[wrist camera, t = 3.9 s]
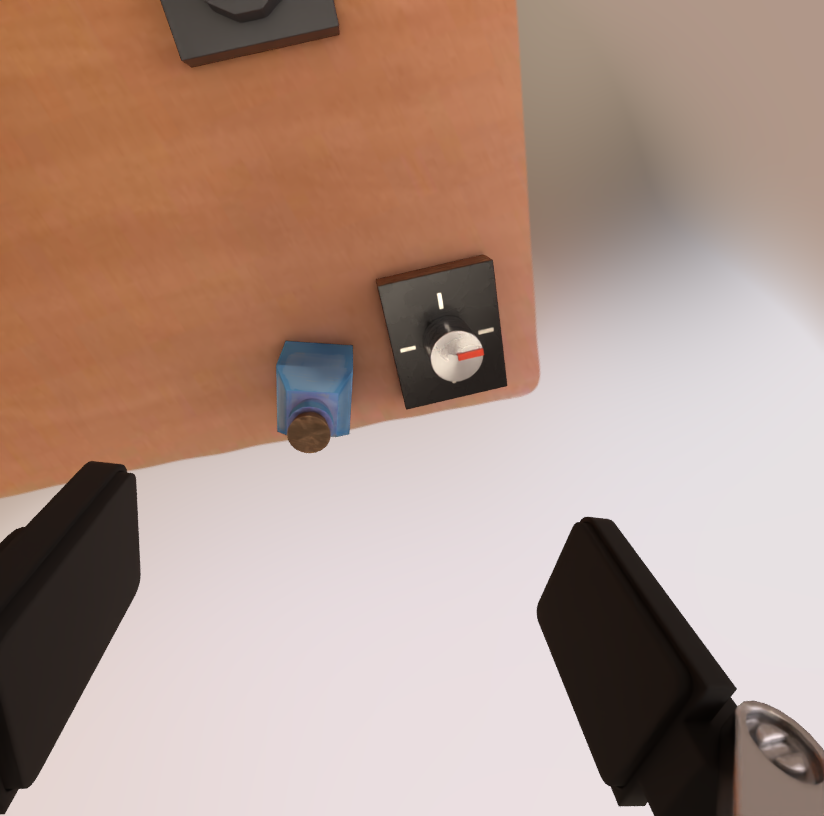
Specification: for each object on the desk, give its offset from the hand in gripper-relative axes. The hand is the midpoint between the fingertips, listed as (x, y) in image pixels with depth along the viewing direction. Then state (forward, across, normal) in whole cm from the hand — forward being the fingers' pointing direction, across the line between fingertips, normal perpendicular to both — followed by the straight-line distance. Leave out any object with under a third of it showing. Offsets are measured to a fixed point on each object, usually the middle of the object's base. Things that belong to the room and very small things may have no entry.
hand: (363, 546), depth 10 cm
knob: (+32, -9, +4) cm, 33 cm away
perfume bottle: (+35, +2, +11) cm, 37 cm away
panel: (+35, -8, +4) cm, 36 cm away
